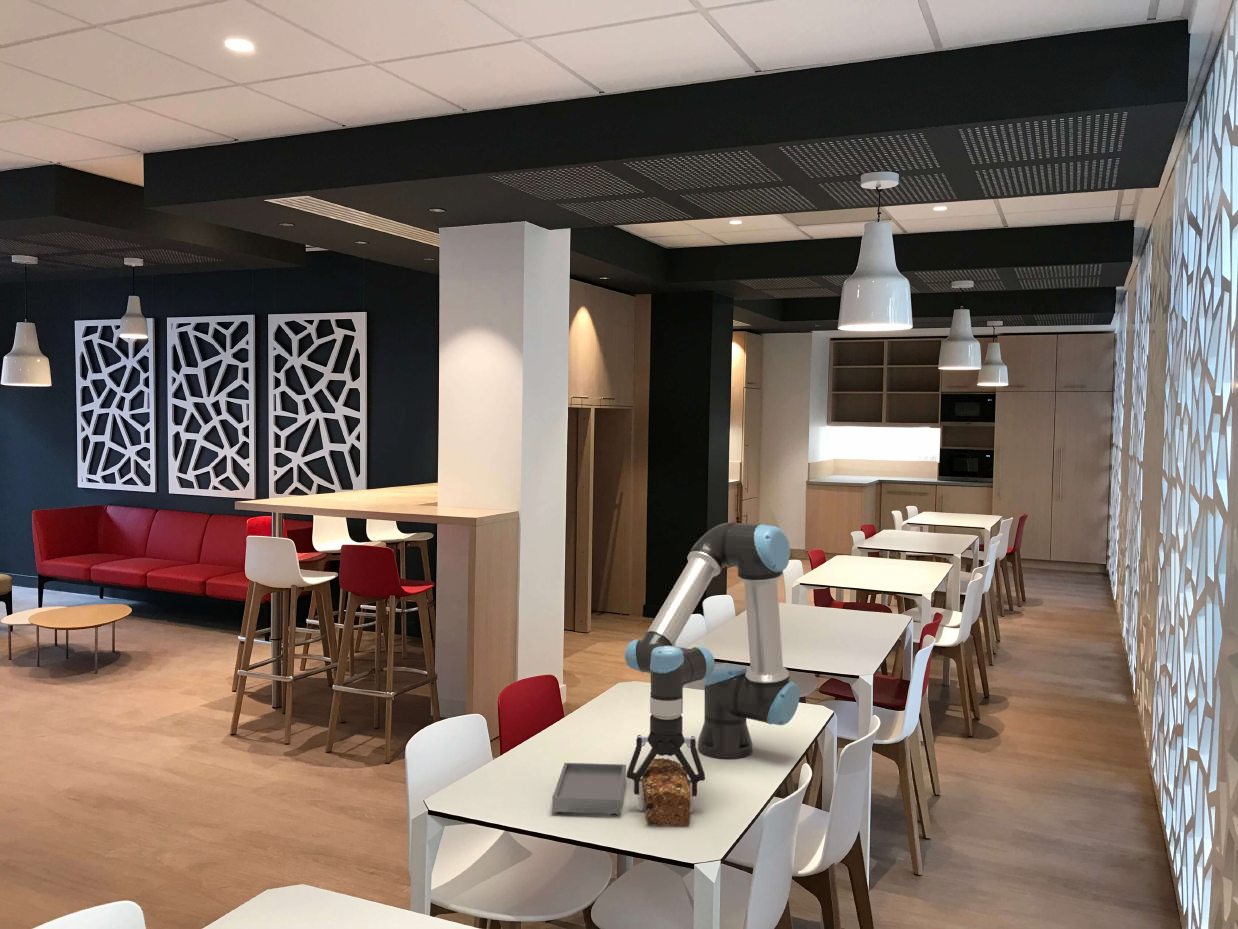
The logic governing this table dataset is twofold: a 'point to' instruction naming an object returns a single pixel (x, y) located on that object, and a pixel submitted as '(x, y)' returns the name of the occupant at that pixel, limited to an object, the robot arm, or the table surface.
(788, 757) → the table surface
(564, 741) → the table surface
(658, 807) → the bread
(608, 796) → the grey serving tray
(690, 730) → the table surface
